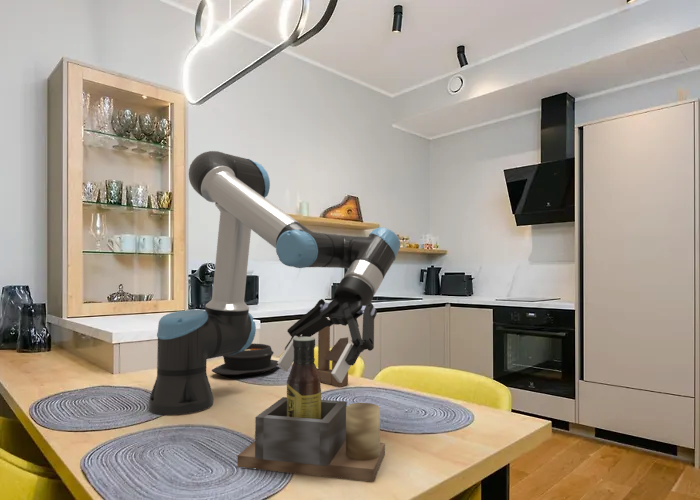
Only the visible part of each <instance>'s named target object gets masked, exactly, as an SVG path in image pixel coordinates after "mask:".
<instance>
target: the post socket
mask: <svg viewBox="0 0 700 500" xmlns="http://www.w3.org/2000/svg"><path fill="white" fill-rule="evenodd" d="M254 423H255V425H254V427H255V428H254V429H255V435H254V436H255V437H254V441H253V442H252V443H250V444H249V445H248V446H247V447H245V448H244V449H243V450H242V451H241V452H240V453H239V454H237V455H236V456H237V458H236V460H237V462H236V465H237V467H236V468H240V467H245V468H244V469H250V468H256V469H255V470H259V469H263V470H262V471H268V470H270V471H269V472H277V471H278V473H286V474H287V473H288V474H295V475H305V476H306V475H308V476H313V477H314V476H316V477H324V478H325V477H326V478H335V479H343V480H350V481H351V480H353V481H362V482H363V481H364V482H369V483H370V482H371V483H372V482H375V480H376V477H377V474H378V471H379V470H380V467H381V464H382V462H383V459H384V457H385V455H386V442H381V407H380V405H378V404H374V403H370V402H369V403H368V402H356V403H350V404H348V402H347V401H344V400H343V401H342V400H327V399H321V419H310V418H297V417H287V396H283V397H281V398H280V399H278V400H277V401H275V402H274V403H273V404H271V405H270V406H269V407H267V408H265V409H264V410H263V411H262V412H260V413H259V414H258V415H256V416H255V422H254Z"/></svg>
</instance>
